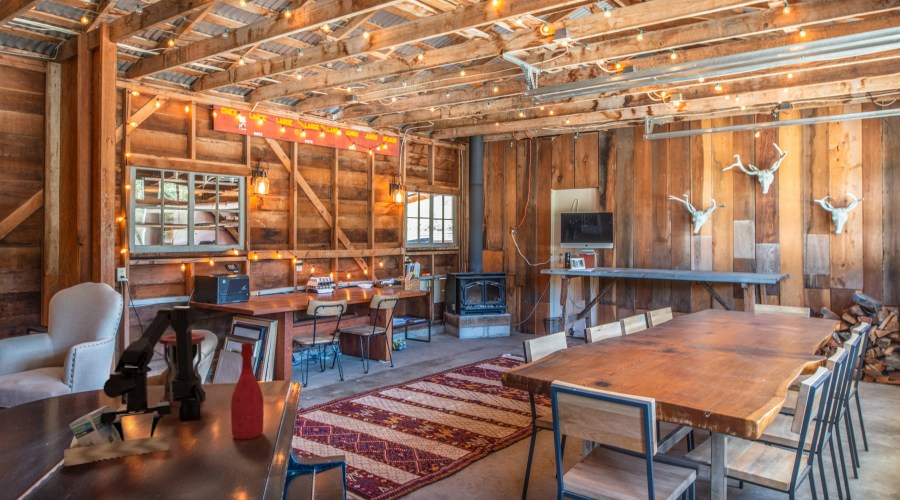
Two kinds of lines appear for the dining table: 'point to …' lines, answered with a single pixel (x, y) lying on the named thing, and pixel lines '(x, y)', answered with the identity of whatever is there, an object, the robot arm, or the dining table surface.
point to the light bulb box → (94, 429)
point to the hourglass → (172, 354)
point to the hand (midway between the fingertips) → (137, 439)
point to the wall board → (113, 449)
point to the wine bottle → (247, 401)
